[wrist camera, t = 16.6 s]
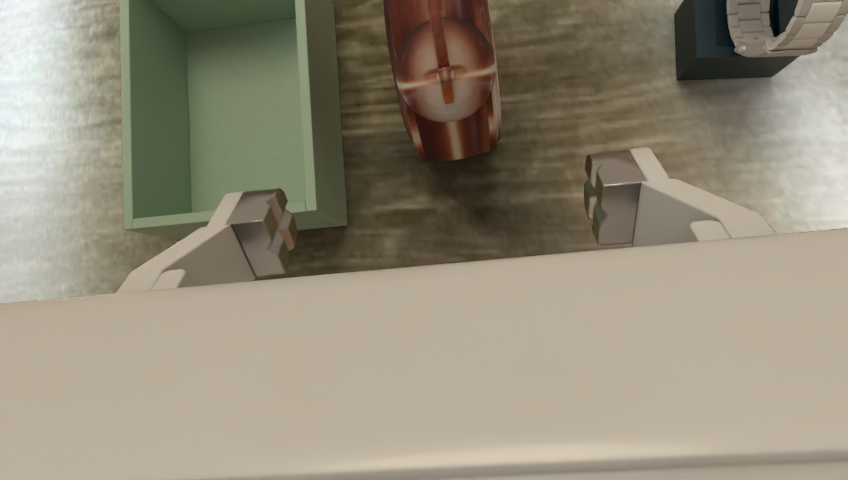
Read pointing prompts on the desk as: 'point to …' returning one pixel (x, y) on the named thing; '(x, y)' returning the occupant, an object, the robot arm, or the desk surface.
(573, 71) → the desk surface
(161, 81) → the storage box
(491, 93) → the alarm clock
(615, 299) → the robot arm
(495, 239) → the desk surface
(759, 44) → the watch
